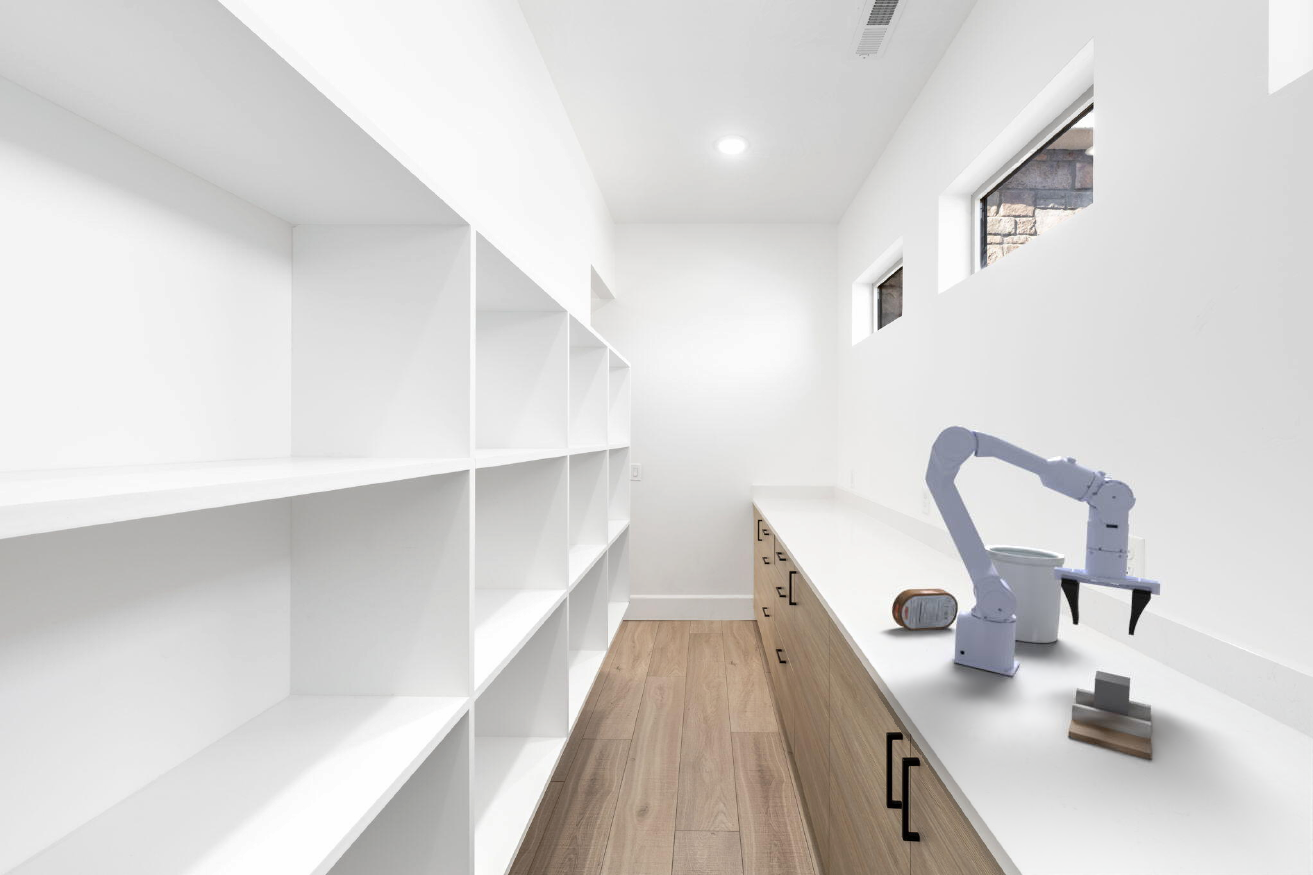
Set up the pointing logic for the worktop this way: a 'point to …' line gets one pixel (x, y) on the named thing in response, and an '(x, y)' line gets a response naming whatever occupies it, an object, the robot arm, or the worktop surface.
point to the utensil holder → (1031, 589)
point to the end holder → (1112, 726)
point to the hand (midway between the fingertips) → (1102, 628)
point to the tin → (924, 609)
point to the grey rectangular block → (1112, 693)
